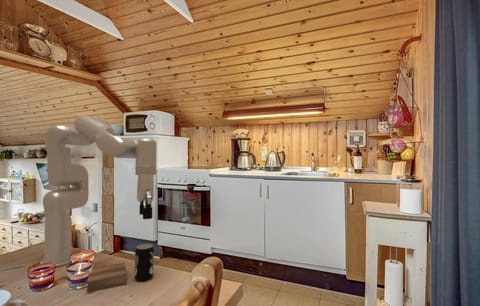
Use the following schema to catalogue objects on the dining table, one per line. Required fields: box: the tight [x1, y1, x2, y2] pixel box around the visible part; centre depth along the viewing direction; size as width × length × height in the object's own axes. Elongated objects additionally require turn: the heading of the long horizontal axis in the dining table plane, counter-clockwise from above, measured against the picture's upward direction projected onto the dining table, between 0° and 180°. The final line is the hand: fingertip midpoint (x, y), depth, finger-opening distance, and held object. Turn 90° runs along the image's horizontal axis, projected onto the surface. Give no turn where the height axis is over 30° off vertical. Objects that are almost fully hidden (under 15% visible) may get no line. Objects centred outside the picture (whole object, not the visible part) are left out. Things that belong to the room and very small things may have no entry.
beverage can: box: [134, 243, 155, 283], centre depth 92 cm, size 7×7×12 cm
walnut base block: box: [86, 262, 128, 294], centre depth 90 cm, size 12×12×4 cm
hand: (145, 216), depth 93 cm, fingers open, 9 cm apart
